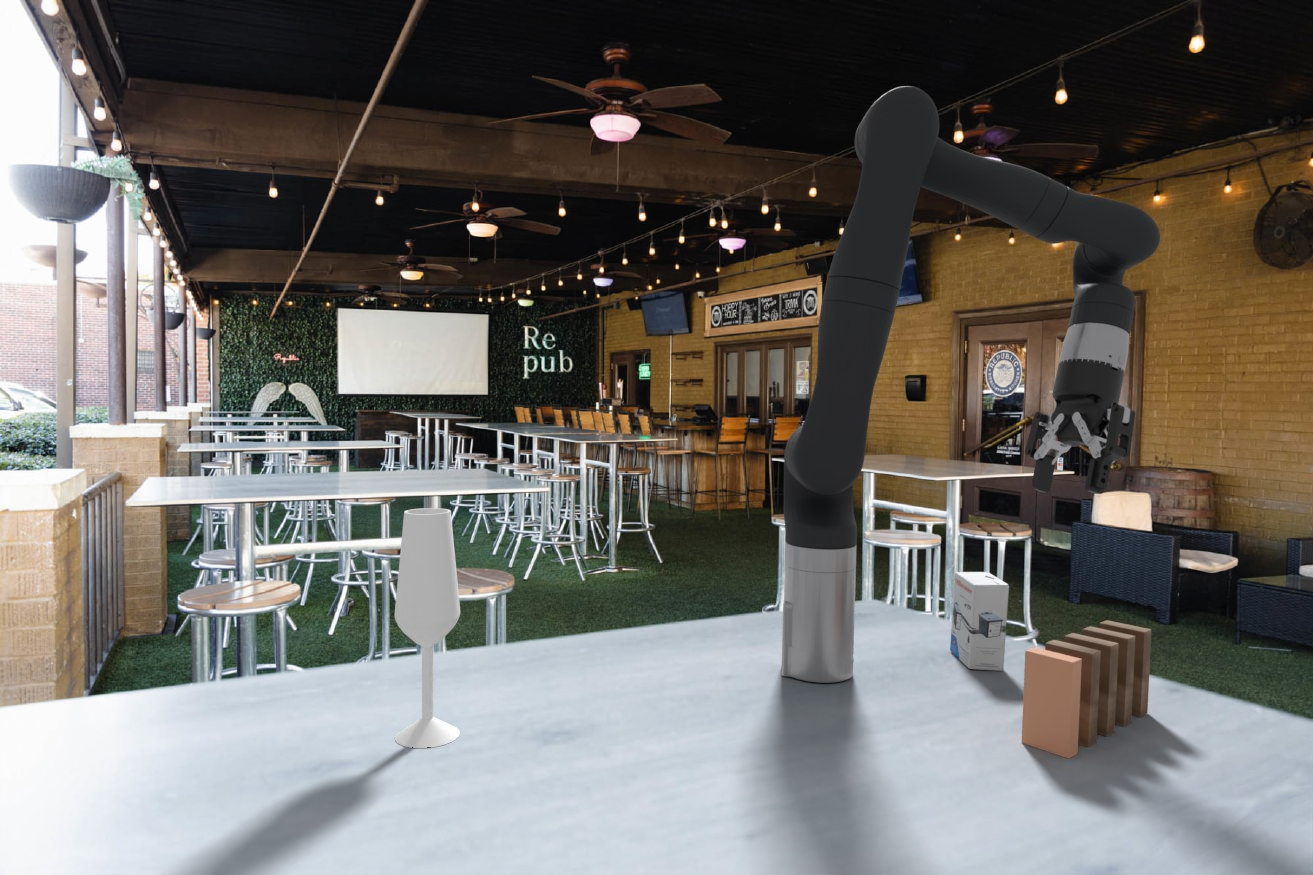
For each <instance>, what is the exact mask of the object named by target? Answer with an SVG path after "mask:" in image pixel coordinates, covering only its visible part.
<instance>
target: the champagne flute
mask: <svg viewBox="0 0 1313 875" xmlns="http://www.w3.org/2000/svg"><path fill="white" fill-rule="evenodd" d="M452 518H453V517H452V511H451V509H447V508H441V507H440V508H438V507H429V508H428V507H426V508H425V507H424V508H423V507H422V508H412V509H407V510H404V512H403V522H402V532H401V543H400V553H399V563H398V564H399V565H398V573H397V583H396V584H397V585H396V596H395V607H394V620H395V623H396V625H397V626H398V627H399V629H400V630H401V631H402V633H404V634H405V635H406V637H408V638H409V639H410V640H412V641H413V642H414V643H415V644H417V645H419V646H421V717H420V718H419V719H418V720H415V721H414V722H413V723H412V724H410V725H408V726H407V727H405V728H403V729H402V730H400V731H399V732H398V733H396V735H395V737H394V739H395V742H396V743H397V744H399V745H400V746H403V747H406V748H410V749H411V748H412V747H413V748H412V749H428V748H427V747H431V748H437V747H441V746H444V745H447V744H449V743H451V742H454V741H455V740H457V739H458V738H459V736H460V733H461V732H460V729H459V728H458V727H456V726H454V725H452V724H450V723H448V722H446V721H444V720H441V719H439V718H437V717H435V716H434V646H435V645H437V644H438V643H440V642H441V641H442V640H443V639H444V638H445V637H446V636H447V635H448V634H449V633H450V632H451V631H452V630H453V629H454V627H455V625H456V624H457V622H458V620H459V619H460V617H461V605H460V596H459V594H460V593H459V585H458V573H457V563H456V553H455V552H456V551H455V543H454V533H453V532H454V531H453V529H454V528H453V521H452Z"/></svg>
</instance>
